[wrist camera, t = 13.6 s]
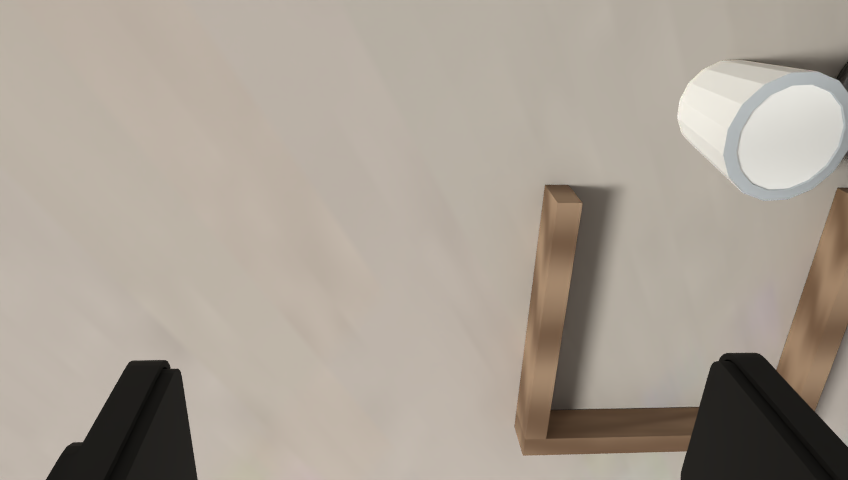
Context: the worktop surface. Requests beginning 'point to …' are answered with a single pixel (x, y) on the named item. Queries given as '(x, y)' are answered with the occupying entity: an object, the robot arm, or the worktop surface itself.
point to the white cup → (766, 125)
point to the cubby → (659, 427)
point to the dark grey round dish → (847, 80)
